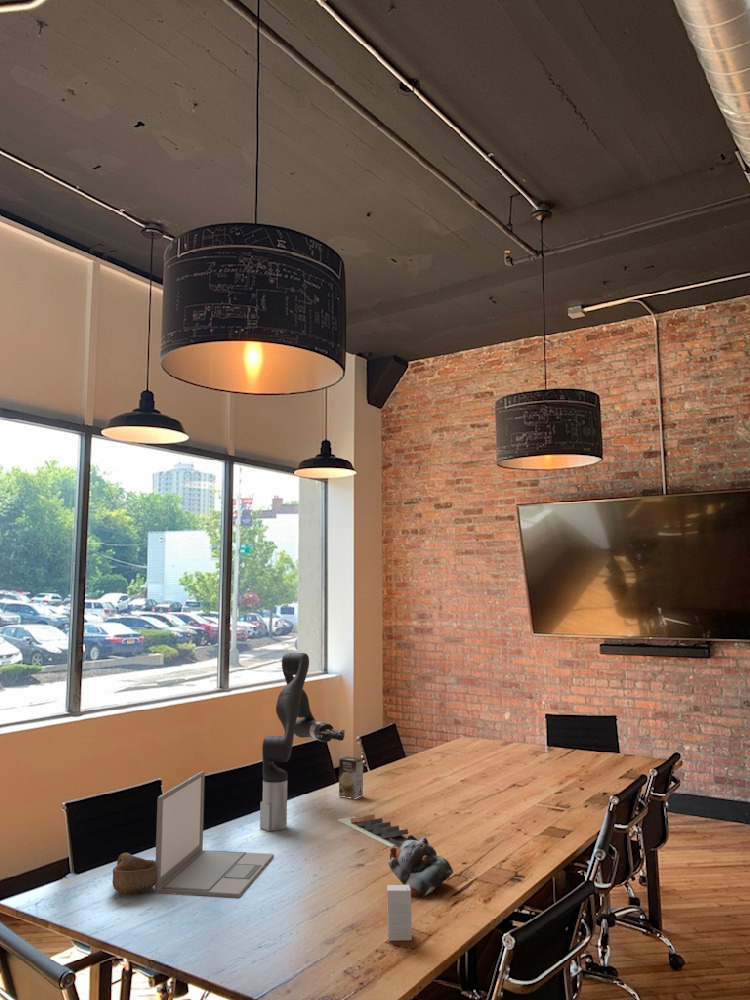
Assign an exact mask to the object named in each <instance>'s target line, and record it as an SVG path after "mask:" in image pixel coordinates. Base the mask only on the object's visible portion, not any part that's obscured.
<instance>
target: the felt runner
mask: <svg viewBox="0 0 750 1000" xmlns="http://www.w3.org/2000/svg"><path fill="white" fill-rule="evenodd" d="M350 818H355V816H350V817H345V818H340V819H337V821H339V822H340V823H343V824H344V825H347V826H348V827H350V828H352V829H354V830H355V831H356V830H357V831H358V832H360V833H362V834H364V835H366V836H368V837H369V838H372V839H374V840H375V841H378V842H380V843H381V844H384V845H386V846H388V847H389V848H392V847H395V846H396V845H394V844H392V843H390V842H389V837H388V838H382V835H381V834H382V833H380V834H373V829H372V830H366V829H365V826H358V822H353V823H351V820H350Z"/></svg>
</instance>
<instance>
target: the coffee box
mask: <svg viewBox="0 0 750 1000" xmlns="http://www.w3.org/2000/svg"><path fill="white" fill-rule="evenodd" d="M338 764H339V769H338V772H339V773H338V774H339V775H338V779H339V780H338V797H339V796H345V797H351V798H357V797H359V796H362V795H363V796H364V758H358V757H353V756H344V757H342V758H341V757H340V758H339V763H338Z"/></svg>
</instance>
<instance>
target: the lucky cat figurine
mask: <svg viewBox="0 0 750 1000" xmlns="http://www.w3.org/2000/svg"><path fill="white" fill-rule="evenodd" d="M406 838H407V840H406V841H405V842H403V844H401V846H400V847H390V850H389V852H390V853H389V860H388V862H387V863H388V867H389V869H390V870H391V872H392V873H393V874H394V875H395V876H396V878H397V879H398V880H399V881H400V882H401V883H402V885H410V889H411V897H415V898H416V897H417V898H422V897H423V898H424V897H425V896H427V895H429V894H431V893H432V892H433V891H434V890H435V889H436V888H438V887H439V885H441V884H442V883H444V882H445V881H446V880H448V879H449V878H450V877H451V876H452V874H454V870H453V868H452V866H451V863H450V862H449V861H448V860H447V859H446V858H445V857H443V856H439V855H437V852H436V849H435V848H434V846H432V845H431V844H430V843H429V840H428V839H427V837H425V836H423V837H422V838H420V839H417V838H416V837H415V836H413V835H411V834H408V836H407V837H406Z"/></svg>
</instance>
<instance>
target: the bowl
mask: <svg viewBox="0 0 750 1000" xmlns="http://www.w3.org/2000/svg"><path fill="white" fill-rule="evenodd" d="M155 861H156V860H154V859H145V858H143V857H142V858H141V857H139V856H135V855H132V853H129V852H123V853H121V854H120V855H118V858H117V861H116V866H114V868H113V869H112V881H111V882H112V887H113V889H114V890H116V892H119V893H121V894H124V895H131V896H133V895H138V894H143V893H145V892H148V891H150V890H152V888H154V887H155V884H156V882H157V879H158V877H157V866H155Z"/></svg>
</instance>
